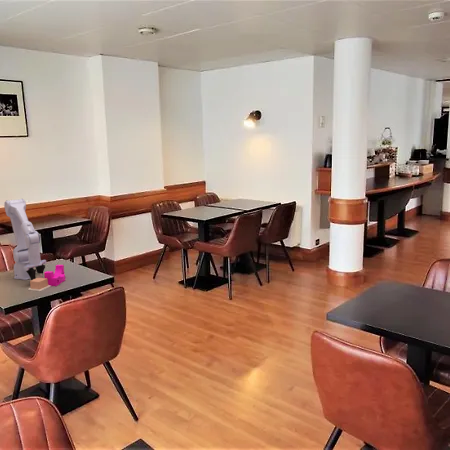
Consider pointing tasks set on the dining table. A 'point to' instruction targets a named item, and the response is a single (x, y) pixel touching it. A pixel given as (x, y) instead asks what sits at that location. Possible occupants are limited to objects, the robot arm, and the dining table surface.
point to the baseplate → (39, 289)
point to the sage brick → (38, 275)
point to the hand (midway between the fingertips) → (36, 279)
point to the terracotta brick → (39, 283)
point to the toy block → (55, 276)
